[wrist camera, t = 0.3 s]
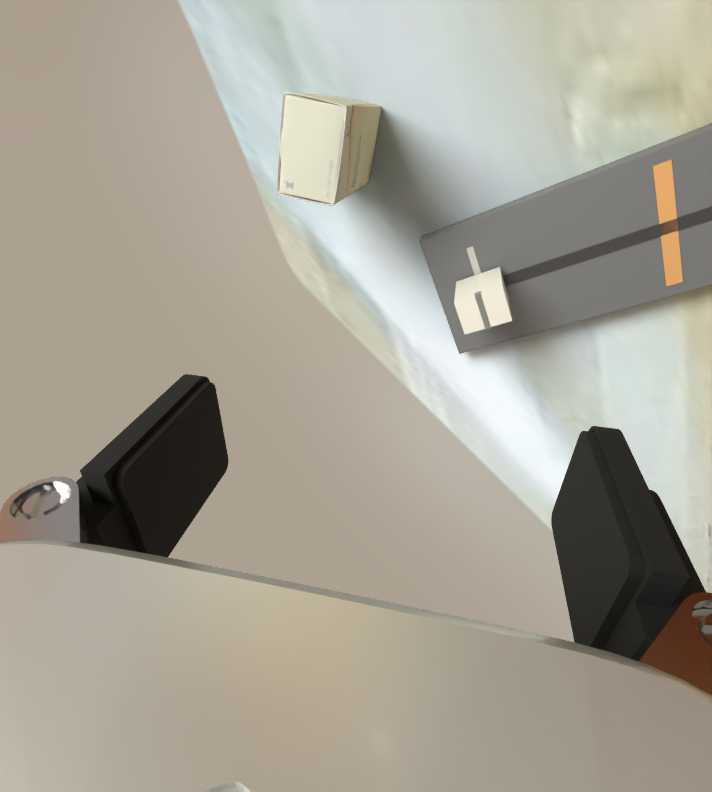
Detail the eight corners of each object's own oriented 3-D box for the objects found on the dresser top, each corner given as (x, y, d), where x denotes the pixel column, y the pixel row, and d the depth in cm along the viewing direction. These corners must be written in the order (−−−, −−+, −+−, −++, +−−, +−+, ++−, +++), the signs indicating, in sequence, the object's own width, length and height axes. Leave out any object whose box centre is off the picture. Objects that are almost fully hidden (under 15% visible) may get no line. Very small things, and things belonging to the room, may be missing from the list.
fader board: (421, 236, 43) (419, 242, 41) (729, 116, 33) (743, 117, 32) (459, 345, 48) (459, 354, 46) (735, 267, 39) (747, 275, 37)
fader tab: (455, 280, 42) (453, 302, 37) (499, 265, 40) (502, 286, 36) (465, 311, 43) (464, 335, 39) (508, 298, 42) (512, 321, 37)
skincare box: (369, 183, 41) (335, 211, 31) (322, 172, 42) (275, 197, 32) (382, 102, 38) (350, 105, 28) (331, 91, 38) (281, 90, 28)
